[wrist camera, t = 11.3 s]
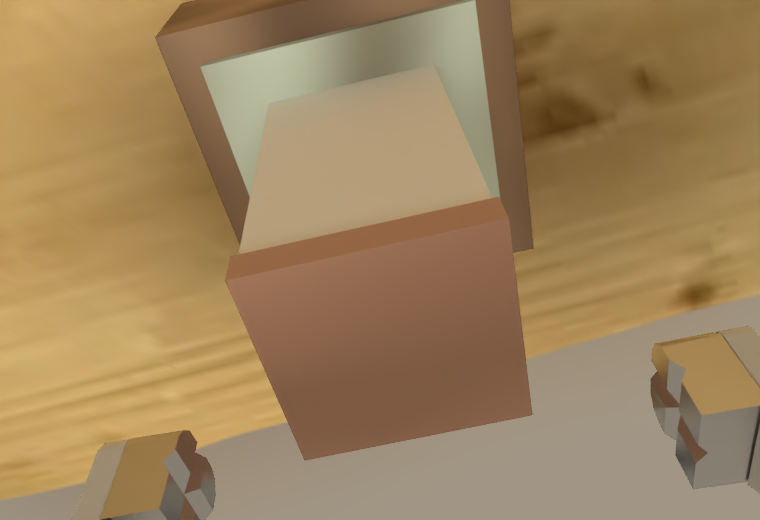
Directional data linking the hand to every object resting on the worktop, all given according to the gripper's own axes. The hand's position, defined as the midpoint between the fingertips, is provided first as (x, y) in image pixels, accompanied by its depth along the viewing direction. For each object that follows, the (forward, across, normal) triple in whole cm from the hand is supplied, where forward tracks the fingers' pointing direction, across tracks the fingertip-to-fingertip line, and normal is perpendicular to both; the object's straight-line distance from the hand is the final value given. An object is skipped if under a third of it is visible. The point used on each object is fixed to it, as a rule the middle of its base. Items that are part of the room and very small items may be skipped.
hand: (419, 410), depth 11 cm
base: (+15, +1, 0) cm, 15 cm away
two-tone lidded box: (+11, +1, 0) cm, 11 cm away
